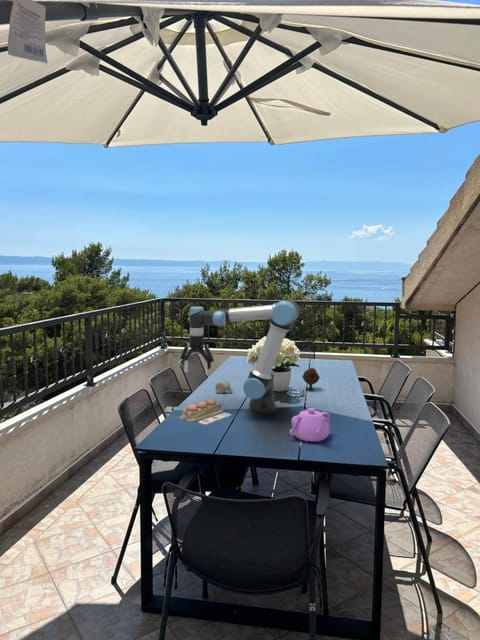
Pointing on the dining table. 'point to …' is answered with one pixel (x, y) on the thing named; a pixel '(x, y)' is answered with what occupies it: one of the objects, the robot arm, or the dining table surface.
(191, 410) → the button
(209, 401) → the button
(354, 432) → the dining table surface
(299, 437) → the teapot
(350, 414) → the dining table surface
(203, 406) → the button middle
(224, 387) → the ceramic mug
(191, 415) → the button panel
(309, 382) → the brown tree model
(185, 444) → the dining table surface
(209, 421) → the pattern card
